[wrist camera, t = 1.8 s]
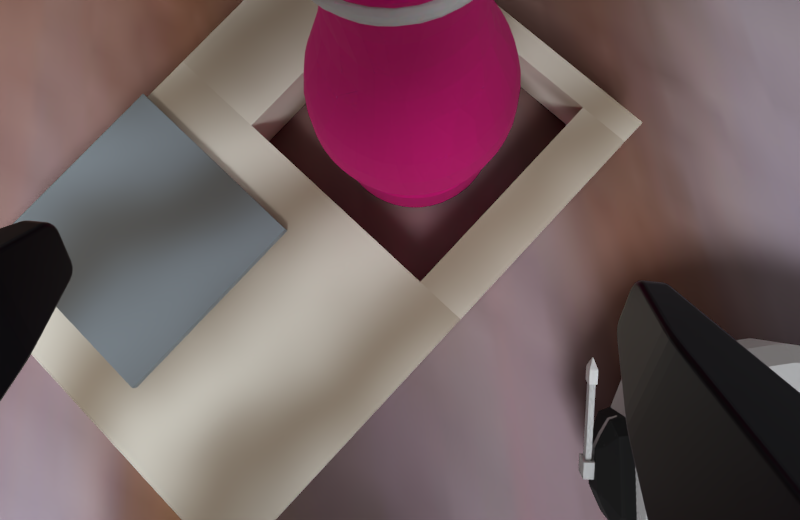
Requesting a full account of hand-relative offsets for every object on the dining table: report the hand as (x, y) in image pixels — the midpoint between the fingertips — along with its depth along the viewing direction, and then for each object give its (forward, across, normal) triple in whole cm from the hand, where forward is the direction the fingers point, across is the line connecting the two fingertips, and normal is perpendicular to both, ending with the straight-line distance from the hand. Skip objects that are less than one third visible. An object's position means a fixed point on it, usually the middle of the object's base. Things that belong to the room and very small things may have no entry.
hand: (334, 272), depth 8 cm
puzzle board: (+12, +4, +7) cm, 14 cm away
